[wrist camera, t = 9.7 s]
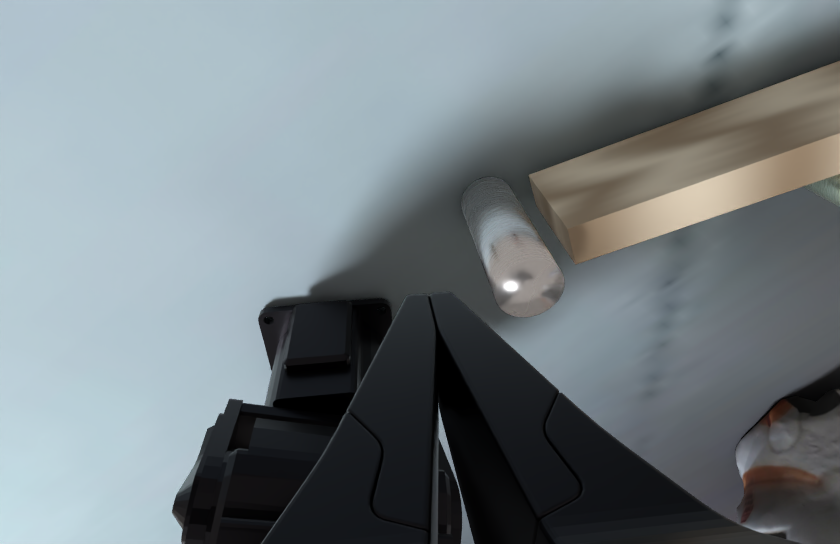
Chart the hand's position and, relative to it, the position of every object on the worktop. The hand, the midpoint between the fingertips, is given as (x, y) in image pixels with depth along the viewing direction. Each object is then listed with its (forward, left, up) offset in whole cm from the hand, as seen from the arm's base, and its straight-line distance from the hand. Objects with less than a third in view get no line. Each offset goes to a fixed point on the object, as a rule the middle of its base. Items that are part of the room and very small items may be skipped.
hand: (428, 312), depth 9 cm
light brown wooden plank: (-1, -14, -12) cm, 19 cm away
